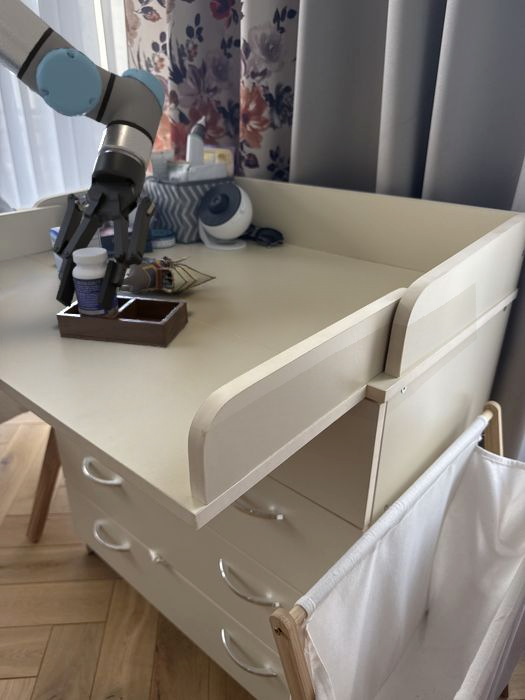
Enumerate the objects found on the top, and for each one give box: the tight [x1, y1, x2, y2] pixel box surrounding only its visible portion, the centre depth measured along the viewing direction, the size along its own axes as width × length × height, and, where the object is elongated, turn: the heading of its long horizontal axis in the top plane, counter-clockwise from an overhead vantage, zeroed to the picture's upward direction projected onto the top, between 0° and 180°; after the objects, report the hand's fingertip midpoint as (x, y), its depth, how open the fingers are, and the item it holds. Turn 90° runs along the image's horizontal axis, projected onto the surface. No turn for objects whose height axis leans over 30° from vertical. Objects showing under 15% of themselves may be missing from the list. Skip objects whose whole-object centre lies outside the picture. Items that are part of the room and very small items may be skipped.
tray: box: [55, 295, 189, 348], centre depth 80 cm, size 9×16×4 cm, turn 76°
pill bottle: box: [73, 247, 119, 318], centre depth 79 cm, size 6×6×10 cm
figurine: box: [114, 254, 217, 294], centre depth 94 cm, size 20×6×17 cm
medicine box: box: [49, 226, 103, 273], centre depth 103 cm, size 8×4×9 cm, turn 133°
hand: (83, 304), depth 76 cm, fingers closed on pill bottle, 6 cm apart
